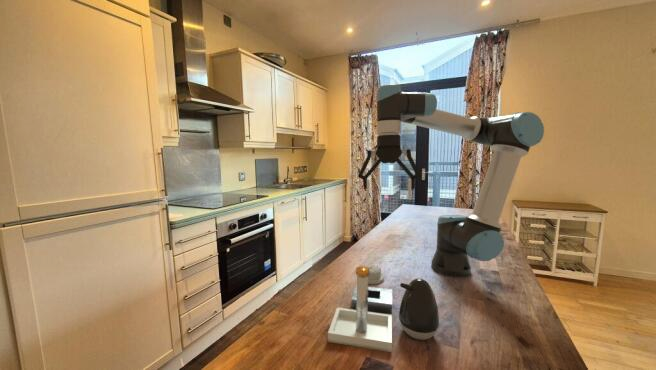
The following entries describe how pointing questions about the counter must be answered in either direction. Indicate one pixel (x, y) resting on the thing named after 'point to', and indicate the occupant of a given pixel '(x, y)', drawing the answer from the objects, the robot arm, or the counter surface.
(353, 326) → the tray
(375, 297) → the block
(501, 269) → the counter surface
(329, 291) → the counter surface
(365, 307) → the pin
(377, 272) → the mechanical component
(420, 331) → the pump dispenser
